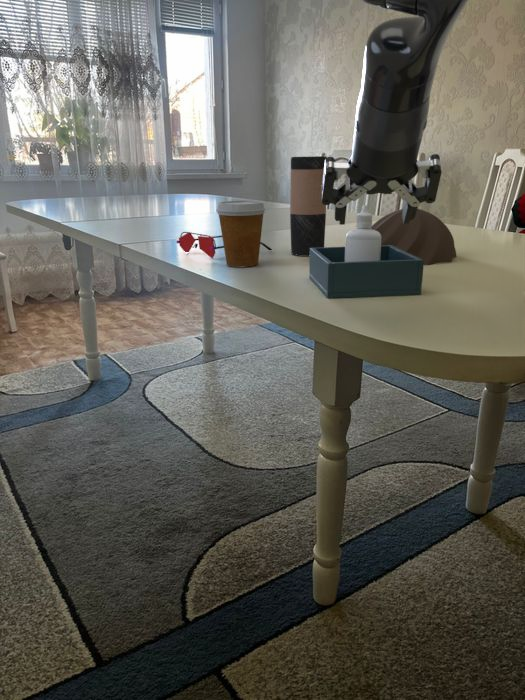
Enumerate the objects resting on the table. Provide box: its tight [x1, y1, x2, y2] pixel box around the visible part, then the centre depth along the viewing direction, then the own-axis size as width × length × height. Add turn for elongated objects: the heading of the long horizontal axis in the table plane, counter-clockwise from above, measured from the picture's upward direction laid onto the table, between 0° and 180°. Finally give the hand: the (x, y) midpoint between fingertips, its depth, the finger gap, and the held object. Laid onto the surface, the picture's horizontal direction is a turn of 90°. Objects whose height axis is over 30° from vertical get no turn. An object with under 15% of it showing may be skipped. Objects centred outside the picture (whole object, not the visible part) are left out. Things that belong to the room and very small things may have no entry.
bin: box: [308, 245, 425, 299], centre depth 88 cm, size 15×15×5 cm
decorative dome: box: [371, 208, 457, 266], centre depth 112 cm, size 19×20×10 cm
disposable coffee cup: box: [215, 200, 267, 267], centre depth 106 cm, size 10×10×12 cm
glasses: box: [175, 231, 273, 259], centre depth 121 cm, size 14×16×5 cm
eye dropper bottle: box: [344, 204, 381, 262], centre depth 87 cm, size 4×6×12 cm
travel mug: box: [289, 155, 327, 255], centre depth 115 cm, size 8×8×20 cm
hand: (373, 219), depth 74 cm, fingers open, 8 cm apart
